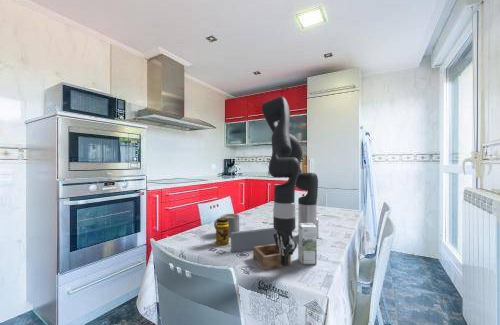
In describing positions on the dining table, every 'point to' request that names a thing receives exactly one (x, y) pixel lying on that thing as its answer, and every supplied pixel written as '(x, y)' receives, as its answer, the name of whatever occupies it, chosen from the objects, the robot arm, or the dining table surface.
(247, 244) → the backstop wall
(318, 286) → the dining table surface
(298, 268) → the dining table surface
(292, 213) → the robot arm
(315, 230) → the syrup box
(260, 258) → the socket block
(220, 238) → the condiment
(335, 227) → the dining table surface
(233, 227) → the coffee mug
